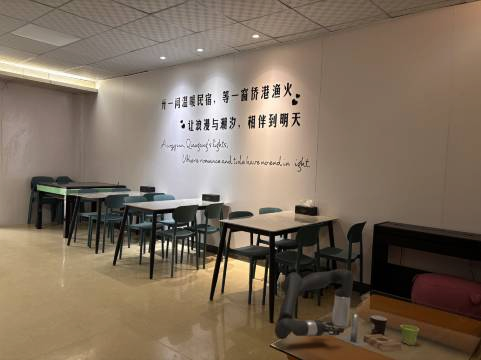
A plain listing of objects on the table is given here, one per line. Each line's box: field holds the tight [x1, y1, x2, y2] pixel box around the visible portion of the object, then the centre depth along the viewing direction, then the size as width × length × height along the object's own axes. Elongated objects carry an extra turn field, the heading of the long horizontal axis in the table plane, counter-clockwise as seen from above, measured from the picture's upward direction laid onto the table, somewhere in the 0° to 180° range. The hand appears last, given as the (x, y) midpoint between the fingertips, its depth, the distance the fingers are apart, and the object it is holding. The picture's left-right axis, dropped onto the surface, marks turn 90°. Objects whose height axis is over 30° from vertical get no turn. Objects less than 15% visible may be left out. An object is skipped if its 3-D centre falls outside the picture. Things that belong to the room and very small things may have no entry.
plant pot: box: [400, 324, 420, 346], centre depth 207 cm, size 9×9×9 cm
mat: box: [337, 335, 371, 347], centre depth 202 cm, size 14×10×1 cm
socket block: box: [363, 334, 402, 352], centre depth 198 cm, size 14×12×4 cm
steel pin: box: [350, 313, 359, 342], centre depth 201 cm, size 3×3×14 cm
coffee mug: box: [369, 315, 388, 336], centre depth 217 cm, size 12×9×10 cm
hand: (338, 327), depth 196 cm, fingers open, 8 cm apart
